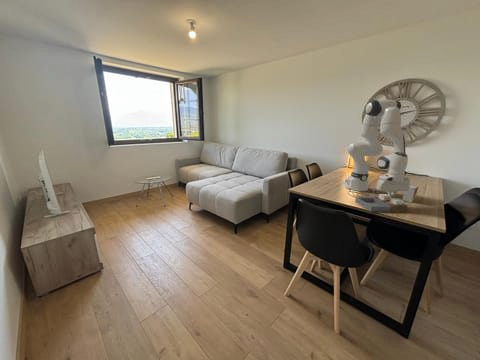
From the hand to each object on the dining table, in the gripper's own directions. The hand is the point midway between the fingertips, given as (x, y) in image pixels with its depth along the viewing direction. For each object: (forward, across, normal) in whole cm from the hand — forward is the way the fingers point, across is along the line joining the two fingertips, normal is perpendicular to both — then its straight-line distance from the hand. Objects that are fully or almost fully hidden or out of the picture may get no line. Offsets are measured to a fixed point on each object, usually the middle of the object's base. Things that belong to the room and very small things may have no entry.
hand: (390, 197), depth 133 cm
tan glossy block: (+5, +3, +4) cm, 7 cm away
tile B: (+1, +2, +8) cm, 8 cm away
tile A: (+1, +4, 0) cm, 4 cm away
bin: (+5, +15, +4) cm, 16 cm away
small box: (+6, -21, -8) cm, 23 cm away
